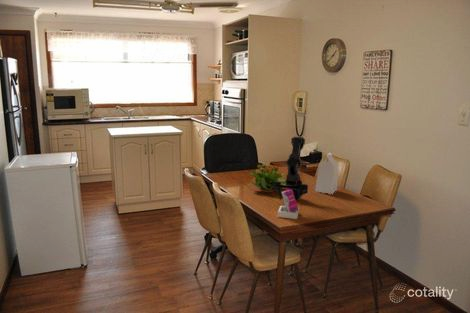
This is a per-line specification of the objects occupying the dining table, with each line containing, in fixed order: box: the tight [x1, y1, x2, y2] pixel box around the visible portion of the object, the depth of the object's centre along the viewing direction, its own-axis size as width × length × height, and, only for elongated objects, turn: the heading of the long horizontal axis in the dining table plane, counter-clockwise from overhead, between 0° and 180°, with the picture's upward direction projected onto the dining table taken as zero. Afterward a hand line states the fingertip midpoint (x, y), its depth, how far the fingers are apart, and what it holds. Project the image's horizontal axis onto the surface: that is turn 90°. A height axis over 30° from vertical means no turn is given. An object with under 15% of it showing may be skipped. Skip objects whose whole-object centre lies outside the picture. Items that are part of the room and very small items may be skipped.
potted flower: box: [249, 163, 286, 193], centre depth 245 cm, size 25×24×18 cm
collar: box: [277, 205, 300, 220], centre depth 202 cm, size 10×10×3 cm
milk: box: [314, 152, 339, 195], centre depth 248 cm, size 12×12×26 cm
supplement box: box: [281, 188, 299, 212], centre depth 201 cm, size 6×6×12 cm
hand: (288, 200), depth 200 cm, fingers open, 9 cm apart
